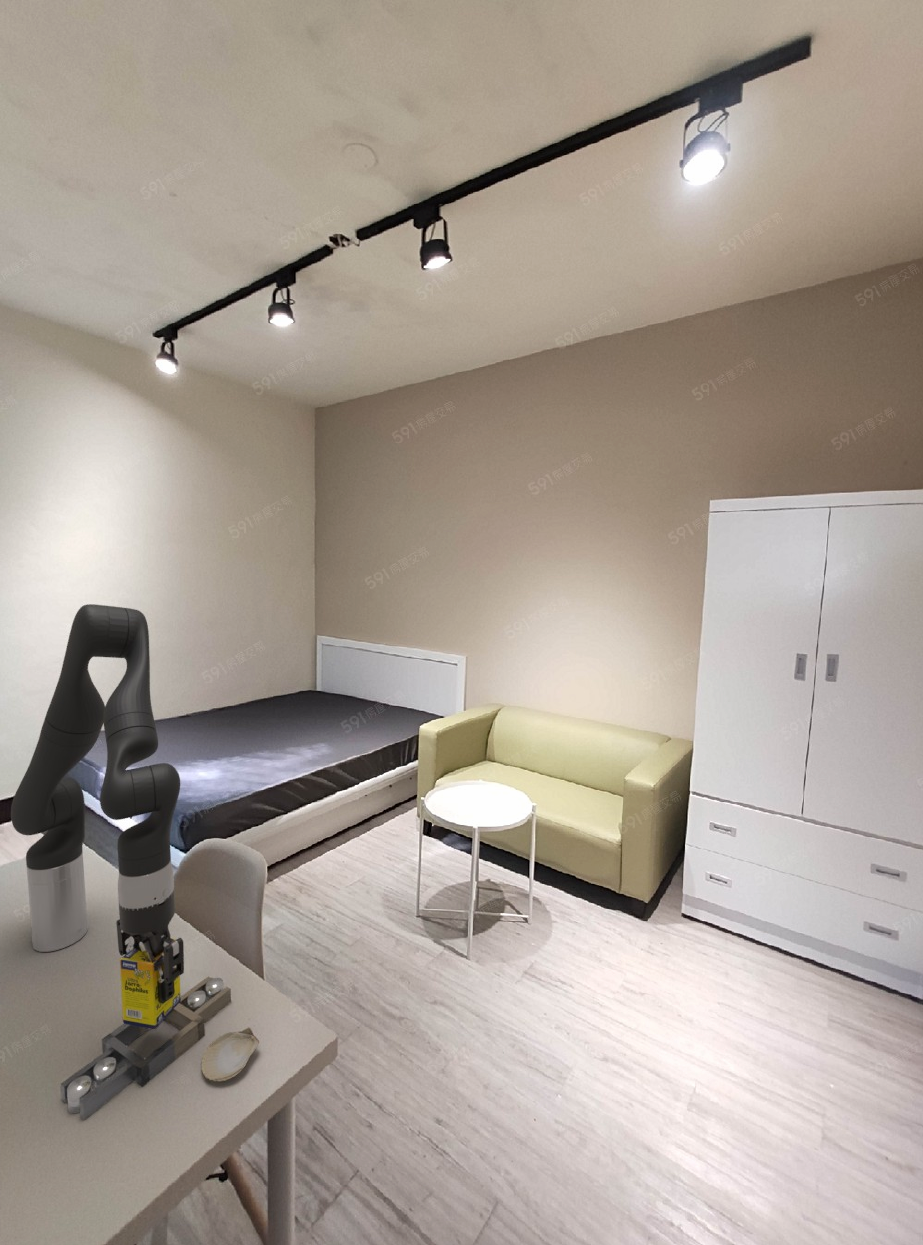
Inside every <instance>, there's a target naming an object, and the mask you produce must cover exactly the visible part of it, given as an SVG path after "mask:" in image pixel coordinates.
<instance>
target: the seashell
mask: <svg viewBox="0 0 923 1245" xmlns="http://www.w3.org/2000/svg"><path fill="white" fill-rule="evenodd" d="M259 1044H260V1041H259V1039H258V1038H257V1036H255V1035H254V1033H253V1030H252V1028H251V1027H247V1028H245V1029H242V1031H233V1032H227V1033H224V1034H222V1035H219V1036H218V1037H217V1038H215V1040H213V1041H212V1043H210V1044H209V1046H208V1047H207V1049H206V1050H205V1052H204V1054H203V1056H202V1060H201V1061H200V1062H201V1063H200V1066H201V1067H200V1069H201V1073H202V1075H203V1077H205V1079H206V1080H208V1081H210V1082H213V1083H217V1082H218V1083H221V1082H222V1081H223V1082H226V1081H227V1080H231V1079H232V1078H233V1077H236V1076H237V1075H238V1074H240V1073H241V1071H242V1070H244V1068H245V1066H246V1065H247V1064H248V1062H249V1059H250V1057H251V1056H252V1055H253V1053H254V1052H255V1050H256V1049H257V1047H258V1046H259Z"/></svg>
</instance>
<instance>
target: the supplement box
mask: <svg viewBox="0 0 923 1245" xmlns="http://www.w3.org/2000/svg"><path fill="white" fill-rule="evenodd" d="M172 939H173V940H177V939H178V938H177V939H176V938H172ZM163 952H164V951H163ZM163 952H162V953H163ZM162 953H160V954H159V955H157V956H155V957H154V959H155V960H156V961H159V960H160V959H161V958H163V957H164V956H163V955H162ZM156 961H155V962H153V963H151V962H150V961H148V960H146V957H145V954H144V953H143V952H141V951H139V950H137V949H136V948H135V950H133V951H129V952H128V953H127V954H126V955H125V954H124V955H123V956H121V958H120V959H119V966H120V967H119V968H120V985H121V987H120V988H121V1003H122V1006H121V1008H122V1020H123V1023H122V1024H128V1025H133V1026H139V1027H144V1028H150V1029H151V1030H156V1029H157V1028H158V1027H159V1026H160V1025H161V1023H163V1021H164V1019H165V1017H166V1016H167V1015H168V1014H169V1013H170V1012H171V1011H172V1010H173V1009H174V1008H175V1007H176V1006H177V1005H178V1004H179V1002H180V1001H181V996H182V995H181V975H180V976H178V977H177V978H175V979H174V990H175V993H174V996H173V997H172V998H170V999H169V1000H168V1001H166V1002H165V1003H163V1004H162V1003H160V1002H159V1001H158V986H157V981H158V979H157V974H156V968H154V965H155V964H156ZM161 968H162V971H163V972H164V963H163V964H162V965H161ZM165 1020H166V1019H165Z"/></svg>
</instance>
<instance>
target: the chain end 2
mask: <svg viewBox="0 0 923 1245" xmlns="http://www.w3.org/2000/svg"><path fill="white" fill-rule="evenodd" d="M231 990H232V989H231V988H230V987H229V986H226V987H224V979H223V978H222V977H214V978H212V977H211V976H207V977H206V978H204V979H203V980H202V981H200V982H198V983H197V984H196V985H194V986H193V987H192V988H191V989H189V990H188V991H186V992H185V993H183V994H182V995H181V1001H180V1002H179V1004H178V1005H177V1006H176V1007H175V1008H174V1009H173V1010H172V1011H171V1012H170V1013H169V1014H168V1015H167V1016H166V1017H165V1020H166V1021H168V1022H169V1023H171V1024H172V1025H173V1026H175V1027H177V1028H178V1029H179V1031H178V1032H176V1033H175V1034H174V1035H172V1036H171V1038H169V1039H170V1040H172V1041H173V1042H174V1047H175V1061H176V1060H177V1059H178V1058H179V1057H181V1056H182V1055H183V1054H185V1053H186V1051H188V1050H190V1048H191V1047H193V1046H194V1045H195V1044H197V1043H198V1042H199V1041H200V1040H201V1039H203V1038H204V1037H205V1036H206V1029H205V1024H206V1023H207V1022H208V1021H209V1020H211V1019H212V1018H213V1017H215V1015H217V1014H218V1013H220V1011H222V1010H223V1009H224V1008H225V1007H226V1006H228V1005H229V1004H230V1003H232V992H231ZM149 1029H150V1028H144V1027H140V1036H142V1035H143V1034H145V1033H146V1032H147V1031H148V1030H149Z"/></svg>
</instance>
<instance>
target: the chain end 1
mask: <svg viewBox="0 0 923 1245" xmlns="http://www.w3.org/2000/svg"><path fill="white" fill-rule="evenodd" d="M140 1036H141V1035H140V1027H139V1026H133V1025H128V1024H124V1023H122V1024H121V1025H120V1026H118V1027H117V1028H116V1029H114V1030H113V1031H111V1032H109V1033H108V1034H107V1035H106V1036H104V1037H103V1038H101V1045H102V1046H101V1048H102V1053H101V1054H99V1055H98V1056H97V1057H96V1058H94V1059H93V1060H92V1061H90V1062H89V1063H87V1064H86V1065H85V1066H83V1067H82V1068H81V1069H79V1070H77V1072H75V1073H73V1074H72V1075H70V1076H69V1077H68V1078H67V1079H65V1080H63V1082H61V1083H60V1094H61V1101H62V1102H64V1103H65V1104H66V1103H67V1106H68V1107H67V1108H68V1112H69V1113H70V1114H79V1115H80V1116H79V1117H80V1118H81V1119H82V1120H83V1121H86V1119H88V1118H89V1117H90V1116H91V1115H92V1114H94V1113H95V1112H97V1110H99V1109H100V1108H101V1107H103V1106H104V1105H105V1104H106V1103H108V1102H109V1101H110V1100H111V1099H112V1098H114V1097H115V1096H116V1095H117V1094H119V1093H120V1092H121V1091H122V1090H123V1089H125V1088H126V1087H127V1086H128V1085H130V1084H131V1083H132V1082H135V1084H137V1085H138V1086H140V1087H141V1088H143V1087H144V1086H146V1085H147V1084H148V1083H149V1082H151V1081H152V1080H153V1079H154V1078H155V1077H157V1075H159V1074H160V1073H162V1072H163V1070H165V1069H166V1068H167V1067H169V1066H170V1065H171V1064H172V1063H174V1061H176V1060H175V1047H174V1042H173V1041H172V1040H170V1038H169V1039H168V1040H166V1041H165V1042H164V1043H163V1044H161V1045H160V1046H159V1047H157V1048H156V1049H155V1050H154V1051H153V1052H151V1053H150V1054H149V1055H148V1056H146V1057H145V1058H144V1057H142V1056H141V1055H140V1054H138V1053H137V1052H135V1051H134V1050H133V1049H132V1048H131V1047H128V1045H129V1044H131V1043H132V1042H134V1041H135V1040H136V1039H137V1038H139V1037H140ZM92 1083H94V1085H93V1086H94V1089H92Z"/></svg>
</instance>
